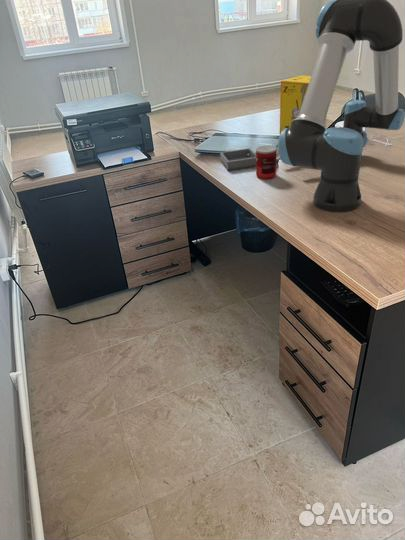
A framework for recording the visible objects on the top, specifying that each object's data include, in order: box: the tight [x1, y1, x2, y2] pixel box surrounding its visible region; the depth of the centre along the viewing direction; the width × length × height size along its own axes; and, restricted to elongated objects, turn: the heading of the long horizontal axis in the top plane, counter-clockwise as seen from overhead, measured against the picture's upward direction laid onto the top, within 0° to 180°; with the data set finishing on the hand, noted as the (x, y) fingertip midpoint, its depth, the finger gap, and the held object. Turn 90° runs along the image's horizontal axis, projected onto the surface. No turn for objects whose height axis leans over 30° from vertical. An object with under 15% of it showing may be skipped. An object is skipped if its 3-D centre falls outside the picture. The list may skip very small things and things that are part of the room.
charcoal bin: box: [219, 147, 256, 172], centre depth 172 cm, size 14×14×4 cm
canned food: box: [255, 145, 277, 180], centre depth 156 cm, size 8×8×11 cm
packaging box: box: [279, 75, 328, 135], centre depth 197 cm, size 16×16×25 cm
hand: (285, 155), depth 157 cm, fingers open, 13 cm apart
